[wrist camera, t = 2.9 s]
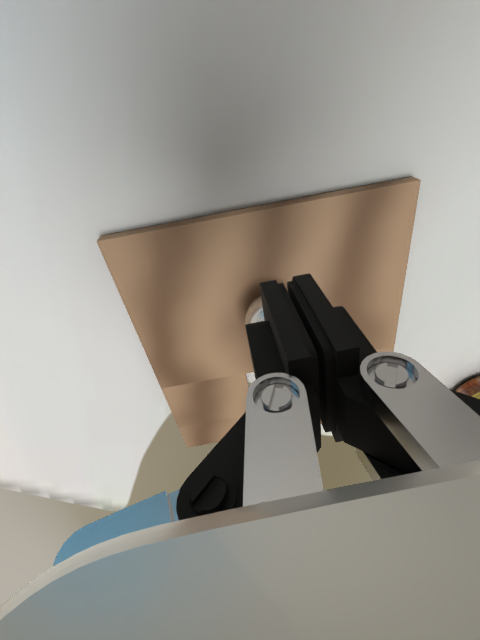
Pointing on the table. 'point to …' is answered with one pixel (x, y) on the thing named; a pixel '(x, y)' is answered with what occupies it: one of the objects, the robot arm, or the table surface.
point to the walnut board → (255, 286)
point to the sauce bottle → (471, 387)
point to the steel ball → (255, 312)
